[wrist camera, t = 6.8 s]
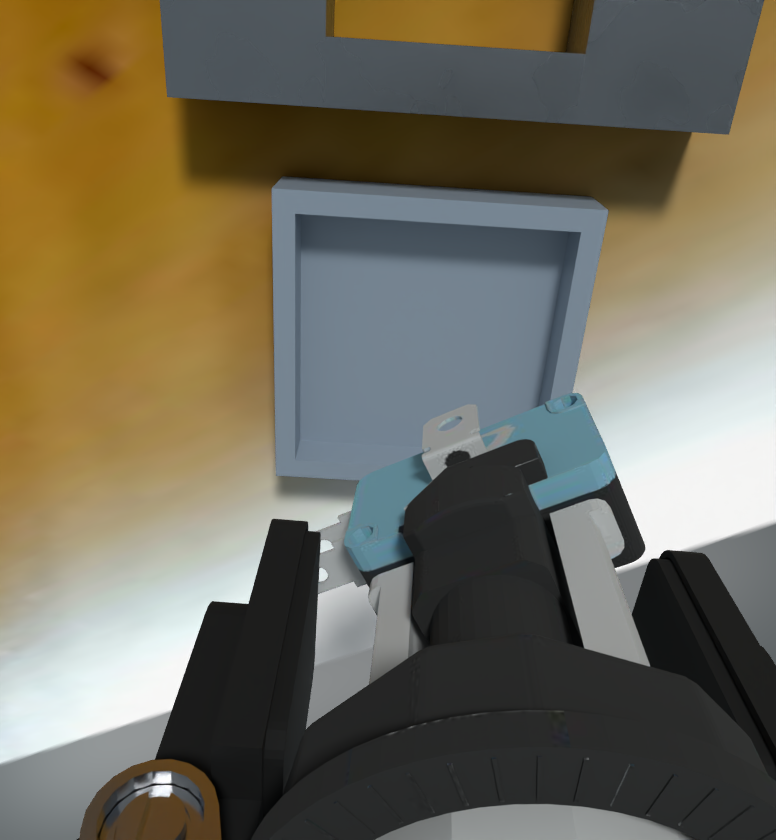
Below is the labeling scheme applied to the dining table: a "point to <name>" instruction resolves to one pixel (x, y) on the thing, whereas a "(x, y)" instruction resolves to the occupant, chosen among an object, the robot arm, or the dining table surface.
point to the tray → (419, 313)
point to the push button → (511, 661)
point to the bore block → (473, 64)
